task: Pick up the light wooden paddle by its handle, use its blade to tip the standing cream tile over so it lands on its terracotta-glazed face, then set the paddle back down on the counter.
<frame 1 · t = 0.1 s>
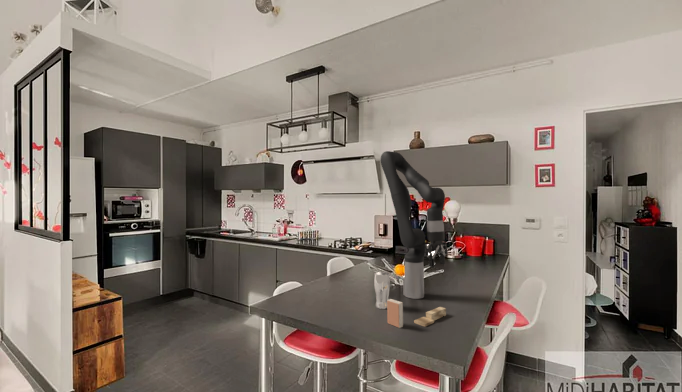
hand: (437, 265, 143), 17 cm above the breakfast bar, tool pointing down, fingers open, 8 cm apart
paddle: (431, 319, 123), on the breakfast bar
tile: (395, 324, 118), on the breakfast bar
beer glass: (382, 307, 138), on the breakfast bar
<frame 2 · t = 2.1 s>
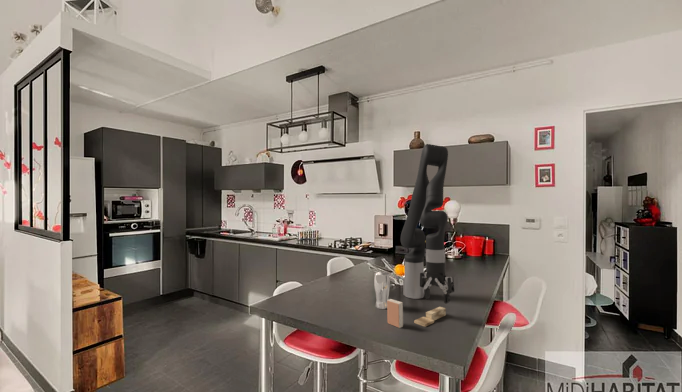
hand: (436, 300, 124), 7 cm above the breakfast bar, tool pointing down, fingers open, 8 cm apart
nothing on the breakfast bar moved.
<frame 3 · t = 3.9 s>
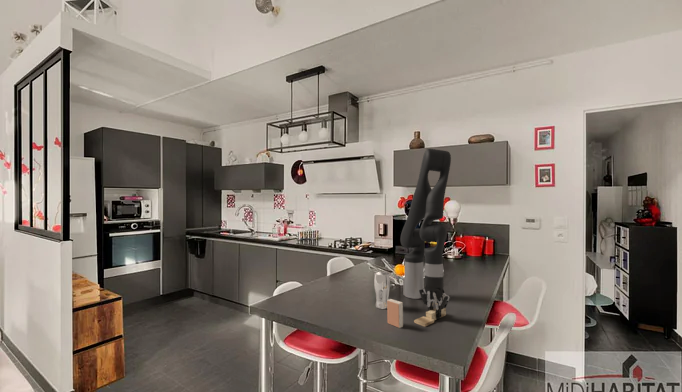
hand: (434, 317, 124), 0 cm above the breakfast bar, tool pointing down, fingers closed on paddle, 2 cm apart
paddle: (431, 319, 123), on the breakfast bar, touching gripper
everything else where it was.
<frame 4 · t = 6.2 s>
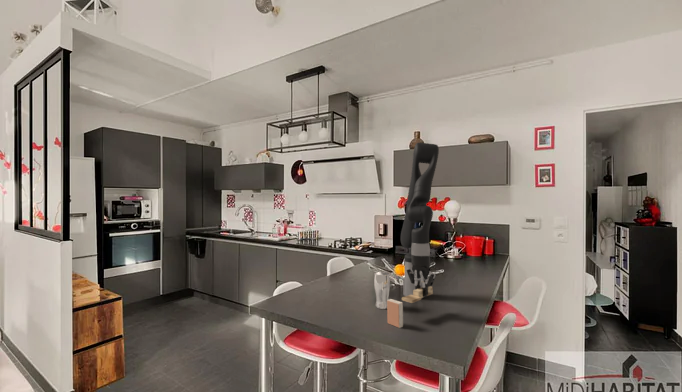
hand: (421, 295, 128), 8 cm above the breakfast bar, tool pointing down, fingers closed on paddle, 2 cm apart
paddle: (418, 297, 127), point 8 cm above the breakfast bar, touching gripper
everything else where it was.
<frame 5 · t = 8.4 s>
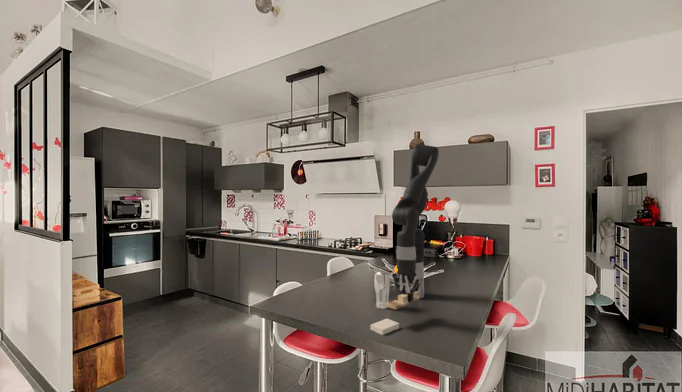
hand: (406, 300, 123), 8 cm above the breakfast bar, tool pointing down, fingers closed on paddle, 2 cm apart
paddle: (403, 302, 122), point 7 cm above the breakfast bar, touching gripper
tile: (393, 323, 117), point 1 cm above the breakfast bar, tilted 90°
everything else where it was.
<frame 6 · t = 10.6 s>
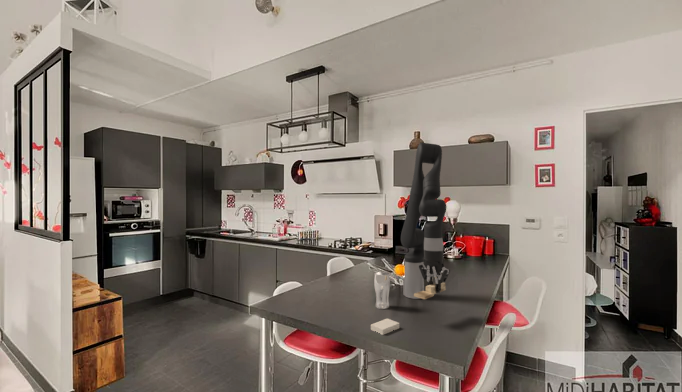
hand: (434, 291, 125), 11 cm above the breakfast bar, tool pointing down, fingers closed on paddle, 2 cm apart
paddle: (431, 293, 123), point 10 cm above the breakfast bar, touching gripper
everything else where it was.
when the fingers open (2 cm above the breakfast bar, at t = 12.4 s): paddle drops 1 cm, on the breakfast bar.
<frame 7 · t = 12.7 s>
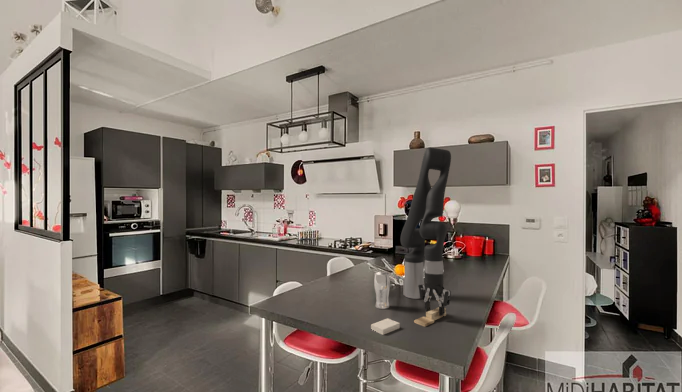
hand: (434, 313, 124), 2 cm above the breakfast bar, tool pointing down, fingers open, 5 cm apart
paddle: (431, 319, 123), on the breakfast bar
everything else where it was.
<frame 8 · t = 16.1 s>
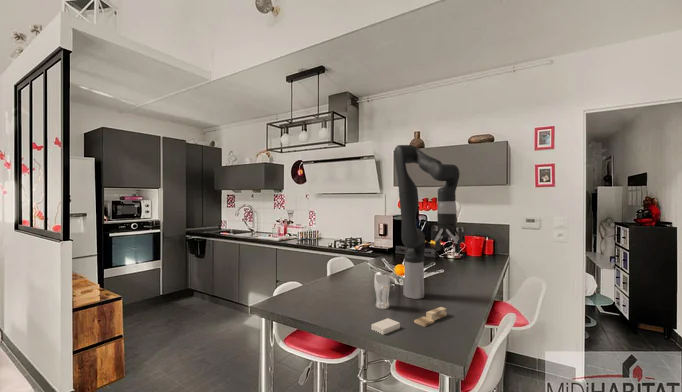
hand: (447, 251, 128), 26 cm above the breakfast bar, tool pointing down, fingers open, 8 cm apart
nothing on the breakfast bar moved.
at the end: tile tilted 90°; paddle inside the target area (0.1 cm from its centre), on the breakfast bar; the gripper is holding nothing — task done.
